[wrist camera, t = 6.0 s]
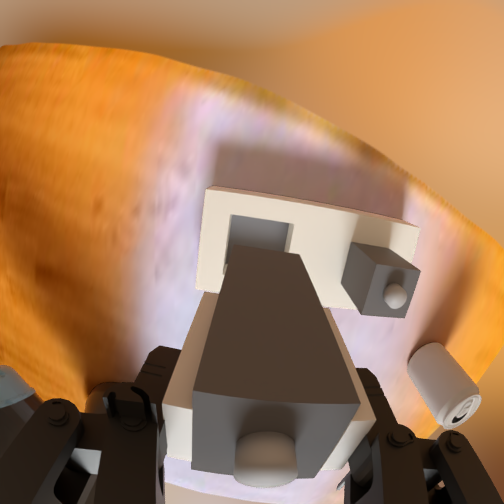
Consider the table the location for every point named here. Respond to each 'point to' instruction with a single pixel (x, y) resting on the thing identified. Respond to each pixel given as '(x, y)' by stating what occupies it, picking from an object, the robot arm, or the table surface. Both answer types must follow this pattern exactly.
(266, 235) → the strip
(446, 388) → the beverage can
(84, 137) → the table surface
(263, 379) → the plug
